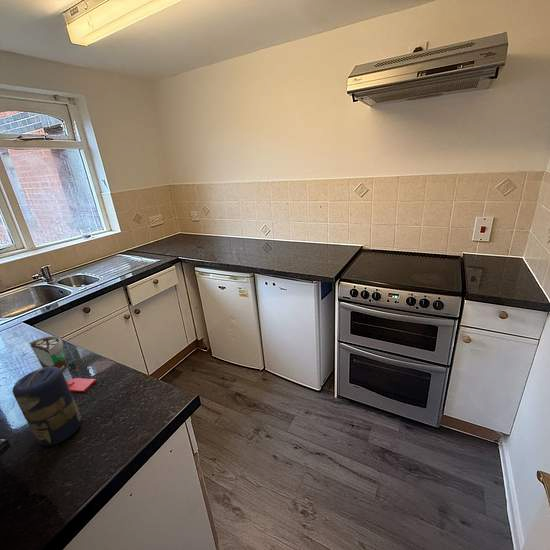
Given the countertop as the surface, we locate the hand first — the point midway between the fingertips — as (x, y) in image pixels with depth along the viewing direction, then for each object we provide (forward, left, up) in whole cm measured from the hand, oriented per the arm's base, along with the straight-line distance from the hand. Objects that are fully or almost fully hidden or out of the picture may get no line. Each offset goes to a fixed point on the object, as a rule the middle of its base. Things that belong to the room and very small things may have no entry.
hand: (6, 442), depth 62 cm
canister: (0, +10, -9) cm, 14 cm away
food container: (-25, +34, -9) cm, 43 cm away
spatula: (-15, +26, -9) cm, 31 cm away
